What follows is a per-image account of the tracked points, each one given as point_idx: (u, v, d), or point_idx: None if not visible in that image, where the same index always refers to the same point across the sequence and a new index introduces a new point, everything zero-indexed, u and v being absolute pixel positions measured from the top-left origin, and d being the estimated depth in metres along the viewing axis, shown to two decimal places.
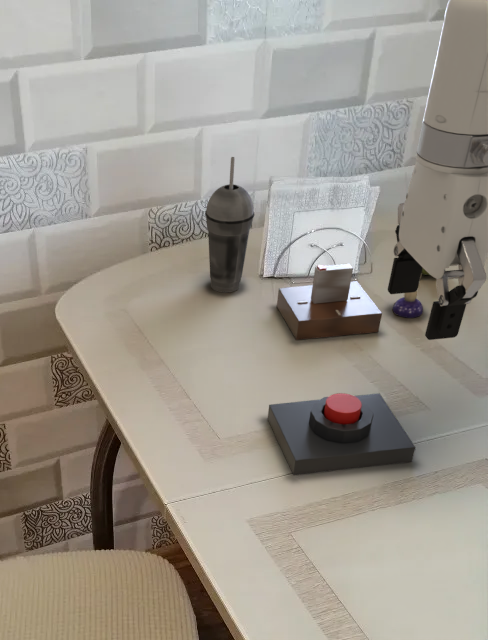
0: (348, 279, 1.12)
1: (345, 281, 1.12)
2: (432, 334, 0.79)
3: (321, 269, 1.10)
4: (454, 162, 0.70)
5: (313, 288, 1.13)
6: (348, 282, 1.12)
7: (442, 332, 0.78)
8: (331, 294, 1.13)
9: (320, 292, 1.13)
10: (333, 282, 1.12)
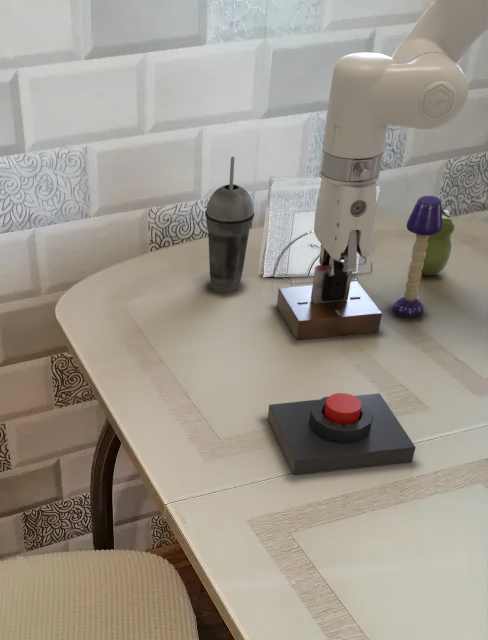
0: (348, 279, 1.12)
1: None
2: (326, 297, 1.12)
3: (321, 269, 1.10)
4: (342, 177, 0.99)
5: (313, 288, 1.13)
6: (348, 282, 1.12)
7: (332, 295, 1.11)
8: None
9: (320, 292, 1.13)
10: None
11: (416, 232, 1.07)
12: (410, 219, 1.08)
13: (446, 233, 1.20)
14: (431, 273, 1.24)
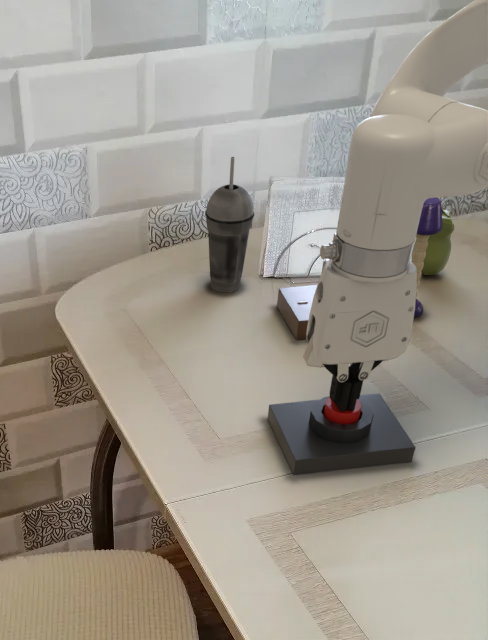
0: None
1: None
2: None
3: (325, 260, 1.12)
4: None
5: None
6: None
7: (330, 394, 0.91)
8: None
9: None
10: None
11: None
12: None
13: (446, 233, 1.20)
14: (431, 273, 1.24)
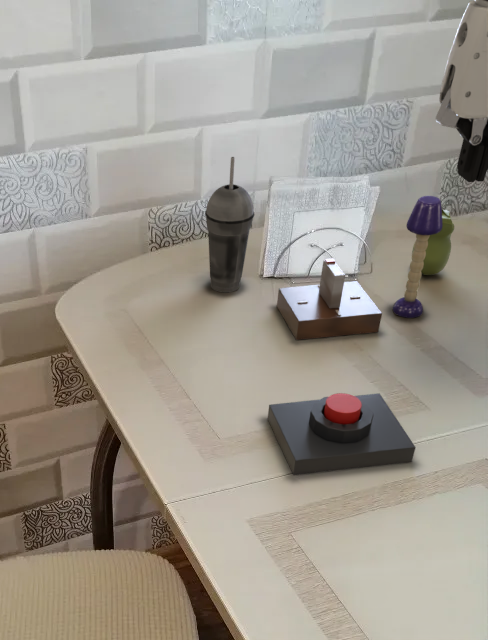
0: (332, 285, 1.11)
1: (330, 286, 1.11)
2: None
3: (325, 260, 1.12)
4: None
5: None
6: (331, 288, 1.11)
7: (458, 166, 0.89)
8: (325, 292, 1.14)
9: (321, 283, 1.14)
10: (327, 280, 1.12)
11: (416, 232, 1.07)
12: (410, 219, 1.08)
13: (446, 233, 1.20)
14: (431, 273, 1.24)
